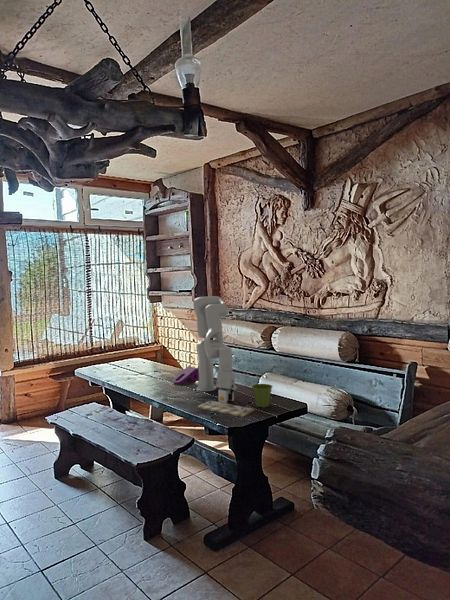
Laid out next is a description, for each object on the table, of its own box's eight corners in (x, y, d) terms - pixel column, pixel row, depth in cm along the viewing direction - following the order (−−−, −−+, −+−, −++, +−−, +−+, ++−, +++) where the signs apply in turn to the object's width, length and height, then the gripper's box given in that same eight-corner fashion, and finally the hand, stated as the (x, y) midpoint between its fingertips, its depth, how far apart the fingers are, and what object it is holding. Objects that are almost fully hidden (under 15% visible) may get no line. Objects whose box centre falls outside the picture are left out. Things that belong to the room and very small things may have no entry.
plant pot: (277, 405, 258) (276, 385, 257) (264, 410, 249) (264, 390, 248) (260, 401, 265) (260, 382, 265) (247, 406, 257) (247, 386, 256)
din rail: (205, 404, 258) (205, 401, 258) (208, 403, 261) (208, 400, 261) (243, 412, 243) (243, 409, 243) (247, 410, 246) (247, 407, 246)
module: (218, 403, 264) (217, 389, 263) (227, 399, 271) (226, 386, 271) (225, 404, 261) (224, 390, 261) (233, 400, 269) (233, 387, 268)
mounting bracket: (183, 393, 308) (201, 377, 318) (178, 383, 305) (196, 367, 315) (174, 390, 315) (192, 375, 325) (169, 381, 312) (188, 365, 322)
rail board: (197, 407, 256) (197, 406, 256) (210, 402, 266) (210, 400, 266) (242, 416, 239) (242, 415, 239) (254, 410, 248) (254, 409, 248)
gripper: (210, 368, 267) (210, 398, 268) (234, 371, 257) (234, 403, 258) (217, 365, 273) (218, 395, 274) (241, 368, 263) (242, 399, 265)
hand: (226, 398), depth 266 cm, fingers closed on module, 5 cm apart
